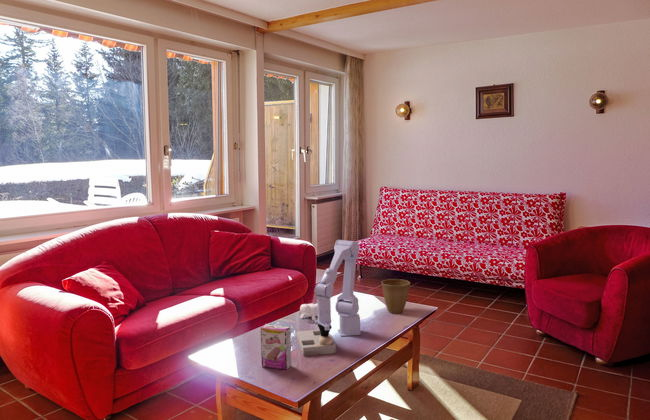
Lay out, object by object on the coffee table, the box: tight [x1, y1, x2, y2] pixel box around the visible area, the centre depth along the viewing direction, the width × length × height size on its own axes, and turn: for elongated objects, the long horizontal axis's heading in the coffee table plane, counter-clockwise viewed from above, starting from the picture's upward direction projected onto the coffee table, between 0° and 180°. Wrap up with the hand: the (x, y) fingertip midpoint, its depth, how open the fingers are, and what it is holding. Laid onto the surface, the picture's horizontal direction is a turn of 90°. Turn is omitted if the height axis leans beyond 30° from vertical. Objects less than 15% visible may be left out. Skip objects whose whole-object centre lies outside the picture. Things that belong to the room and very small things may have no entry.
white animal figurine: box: [299, 303, 318, 322], centre depth 261 cm, size 9×8×15 cm
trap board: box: [295, 329, 337, 357], centre depth 226 cm, size 14×24×4 cm, turn 10°
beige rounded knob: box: [319, 335, 333, 346], centre depth 219 cm, size 5×5×4 cm
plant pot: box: [381, 278, 411, 315], centre depth 269 cm, size 15×15×16 cm
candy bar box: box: [260, 323, 292, 371], centre depth 203 cm, size 11×5×16 cm, turn 71°
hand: (324, 340), depth 223 cm, fingers closed
